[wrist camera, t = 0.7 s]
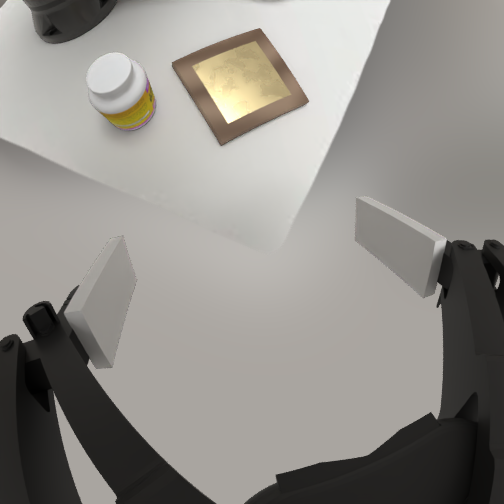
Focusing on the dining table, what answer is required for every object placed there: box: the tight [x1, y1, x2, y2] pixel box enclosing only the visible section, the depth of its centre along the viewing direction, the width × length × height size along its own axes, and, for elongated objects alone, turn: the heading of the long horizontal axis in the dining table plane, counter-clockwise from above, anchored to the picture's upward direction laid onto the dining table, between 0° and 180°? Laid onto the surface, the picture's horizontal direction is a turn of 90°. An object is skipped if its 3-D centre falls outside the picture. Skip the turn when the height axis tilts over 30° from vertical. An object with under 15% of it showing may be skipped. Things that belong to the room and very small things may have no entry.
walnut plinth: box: [172, 28, 309, 145], centre depth 32 cm, size 14×14×2 cm
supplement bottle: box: [86, 52, 156, 130], centre depth 25 cm, size 7×7×13 cm
